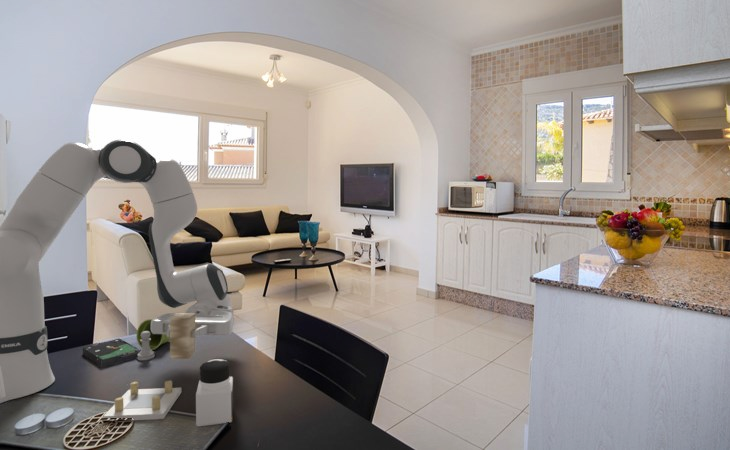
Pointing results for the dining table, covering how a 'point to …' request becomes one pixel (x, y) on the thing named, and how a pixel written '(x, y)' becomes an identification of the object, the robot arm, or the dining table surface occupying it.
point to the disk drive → (110, 352)
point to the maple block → (182, 336)
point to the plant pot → (151, 335)
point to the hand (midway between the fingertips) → (181, 334)
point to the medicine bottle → (214, 394)
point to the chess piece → (145, 347)
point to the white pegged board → (144, 402)
